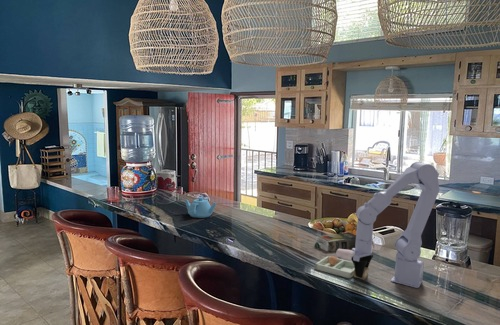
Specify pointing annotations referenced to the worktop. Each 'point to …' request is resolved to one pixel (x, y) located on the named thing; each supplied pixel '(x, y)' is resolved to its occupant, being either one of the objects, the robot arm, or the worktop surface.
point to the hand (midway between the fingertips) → (361, 274)
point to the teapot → (200, 208)
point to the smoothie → (345, 254)
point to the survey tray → (336, 267)
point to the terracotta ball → (332, 260)
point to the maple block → (365, 273)
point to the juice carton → (336, 241)
